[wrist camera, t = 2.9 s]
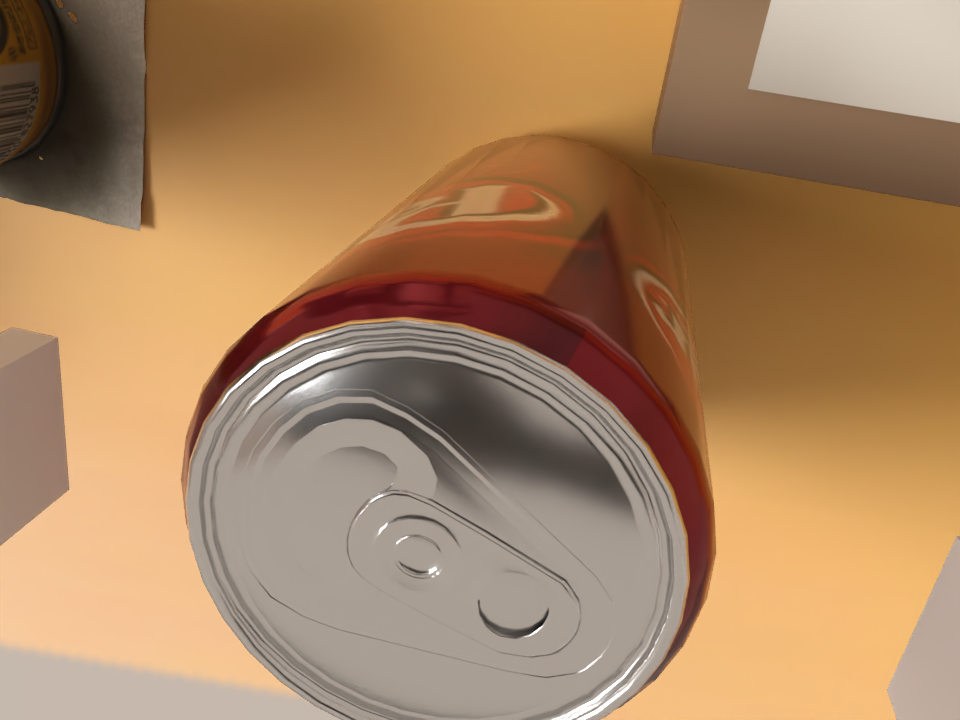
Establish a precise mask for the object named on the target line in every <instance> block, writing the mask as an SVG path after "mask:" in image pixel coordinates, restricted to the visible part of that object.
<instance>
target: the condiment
mask: <svg viewBox="0 0 960 720" xmlns="http://www.w3.org/2000/svg"><path fill="white" fill-rule="evenodd" d="M61 1H62V3H63V8H59V6H58V5H57V3H56V0H0V197H3V198H9V199H12V200H15V201H17V202H21V203H24V204H30V205H36V206H40V207H45V208H49V209H52V210H55V211H62V212H67V213H71V214H74V215H79V216H83V217H87V218H90V219H93V220H97V221H100V222H103V223H106V224H111V225H117V226H121V227H126V228H130V229H134V230H138V231H140V224H141V199H142V195H143V162H144V158H143V141H144V126H145V122H144V113H145V103H144V80H145V73H146V66H147V64H146V60H145V50H144V15H145V0H61ZM69 11H72V12H73V13H74V14H75V15H76V17H77V21H78V23H77V24H76V23H75V22H74V21H73V20H72V19H71V18H70V17H69V15H68V12H69ZM39 156H42V158H43V160H40V159H39Z"/></svg>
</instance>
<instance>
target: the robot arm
mask: <svg viewBox="0 0 960 720" xmlns="http://www.w3.org/2000/svg"><path fill="white" fill-rule="evenodd" d="M68 490H69V480H68V466H67V453H66V439H65V426H64V413H63V399H62V386H61V373H60V359H59V346H58V337H54V336H50V335H45V334H40V333H36V332H31V331H27V330H22V329H18V328H13V327H12V328H10V329H8V330H6V331H4V332H2V333H0V546H1V545H2V544H3V543H4V542H5V541H7V540H8V539H9V538H10V537H12V536H13V535H14V534H15V533H16V532H18V531H19V530H20V529H21V528H23V527H24V526H25V525H26V524H28V523H29V522H30V521H31V520H32V519H34V518H35V517H36V516H37V515H39V514H40V513H41V512H42V511H43V510H45V509H46V508H47V507H48V506H50V505H51V504H52V503H53V502H54V501H56V500H57V499H58V498H59V497H61V496H62V495H63V494H64V493H65V492H67V491H68ZM887 692H888V695H889V698H890V701H891V704H892V707H893V710H894V713H895V716H896V719H897V720H960V537H959V536H956V539H955V541H954V543H953V545H952V547H951V550H950V552H949V554H948V556H947V558H946V561H945V563H944V565H943V567H942V569H941V572H940V574H939V576H938V578H937V580H936V583H935V585H934V587H933V589H932V591H931V594H930V596H929V598H928V600H927V603H926V605H925V607H924V609H923V611H922V614H921V616H920V618H919V620H918V622H917V625H916V627H915V629H914V631H913V633H912V636H911V638H910V640H909V642H908V644H907V647H906V649H905V651H904V653H903V655H902V658H901V660H900V662H899V664H898V667H897V669H896V671H895V673H894V675H893V678H892V680H891V682H890V684H889V686H888V689H887Z"/></svg>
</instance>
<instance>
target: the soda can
mask: <svg viewBox="0 0 960 720" xmlns="http://www.w3.org/2000/svg"><path fill="white" fill-rule="evenodd" d="M181 482H182V491H183V500H184V509H185V518H186V524H187V527H188V530H189V539H190V542H191V545H192V549H193V552H194V555H195V558H196V561H197V564H198V567H199V570H200V574H201V577H202V580H203V582H204V584H205V586H206V588H207V590H208V592H209V594H210V595H211V597H212V599H213V601H214V603H215V605H216V607H217V608H218V610H219V612H220V614H221V616H222V618H223V619H224V620H225V622H226V623H227V624H228V626H229V627H230V628H231V629H232V631H233V632H234V633H235V635H236V636H237V637H238V638H239V640H240V641H241V642H242V644H243V645H244V646H245V648H246V649H247V650H248V651H249V652H250V653H251V654H252V655H253V656H254V657H255V658H256V659H257V660H258V661H259V662H260V663H261V664H262V665H263V666H264V667H265V668H267V669H268V670H269V671H270V672H271V673H272V674H273V675H274V676H275V677H276V678H277V679H278V680H279V681H280V682H282V683H283V684H285V685H286V686H287V687H289V688H290V689H292V690H293V691H295V692H296V693H297V694H299V695H300V696H302V697H303V698H304V699H306V700H307V701H309V702H310V703H312V704H313V705H314V706H316V707H318V708H320V709H322V710H324V711H326V712H328V713H330V714H331V715H333V716H335V717H337V718H339V719H341V720H600V719H602V718H604V717H606V716H607V715H609V714H610V713H611V712H613V711H614V710H615V709H617V708H619V707H621V706H623V705H624V704H625V703H627V702H628V701H629V700H630V699H632V698H633V697H634V696H636V695H637V694H638V693H639V692H641V691H642V690H643V689H644V688H646V687H647V686H648V685H650V684H651V683H652V682H653V681H655V680H656V679H657V677H658V676H659V675H660V674H661V673H662V671H663V670H664V669H665V668H666V666H667V665H668V664H669V663H670V662H671V660H672V659H673V658H674V657H675V655H676V654H677V653H678V652H679V650H680V649H681V648H682V647H683V645H684V644H685V642H686V640H687V638H688V637H689V634H690V632H691V630H692V628H693V626H694V624H695V622H696V620H697V618H698V616H699V614H700V611H701V609H702V607H703V605H704V603H705V601H706V599H707V595H708V590H709V586H710V581H711V576H712V571H713V566H714V561H715V556H716V538H715V515H714V500H713V491H712V483H711V474H710V465H709V457H708V448H707V439H706V431H705V422H704V413H703V405H702V396H701V387H700V379H699V370H698V361H697V353H696V344H695V335H694V327H693V318H692V309H691V301H690V292H689V283H688V275H687V266H686V258H685V255H684V251H683V247H682V243H681V240H680V236H679V232H678V230H677V228H676V226H675V224H674V222H673V220H672V218H671V216H670V214H669V212H668V210H667V208H666V206H665V204H664V203H663V202H662V200H661V199H660V198H659V197H658V195H657V194H656V193H655V192H654V191H653V189H652V188H651V187H650V186H649V184H648V183H647V182H646V181H645V180H644V179H643V178H642V177H641V176H639V175H638V174H637V173H636V172H634V171H633V170H632V169H631V168H630V167H628V166H627V165H626V164H625V163H624V162H622V161H621V160H619V159H617V158H615V157H613V156H612V155H610V154H608V153H606V152H604V151H602V150H600V149H598V148H596V147H595V146H591V145H588V144H585V143H581V142H578V141H574V140H571V139H568V138H563V137H551V136H539V135H530V136H521V137H513V138H505V139H501V140H498V141H495V142H492V143H489V144H486V145H483V146H480V147H477V148H474V149H473V150H471V151H469V152H468V153H466V154H464V155H462V156H461V157H459V158H457V159H456V160H454V161H452V162H450V163H449V164H448V165H447V166H445V167H444V168H443V169H442V170H441V171H439V172H438V173H437V174H436V175H434V176H433V177H432V178H431V179H430V180H428V181H427V182H426V183H425V184H424V185H422V186H421V187H420V188H419V189H418V190H416V191H415V192H414V193H413V194H411V195H410V196H409V197H408V198H407V199H405V200H404V201H403V202H402V203H401V204H399V205H398V206H397V207H396V208H394V209H393V210H392V211H391V212H390V213H388V214H387V215H386V216H385V217H384V218H382V219H381V220H380V221H379V222H378V223H376V224H375V225H374V226H373V227H371V228H370V229H369V230H368V231H367V232H365V233H364V234H363V235H362V236H361V237H359V238H358V239H357V240H356V241H355V242H353V243H352V244H351V245H350V246H348V247H347V248H346V249H345V250H344V251H342V252H341V253H340V254H339V255H338V256H336V257H335V258H334V259H333V260H332V261H330V262H329V263H328V264H327V265H325V266H324V267H323V268H322V269H321V270H319V271H318V272H317V273H316V274H315V275H313V276H312V277H311V278H310V279H308V280H307V281H306V282H305V283H304V284H302V285H301V286H300V287H299V288H298V289H296V290H295V291H294V292H293V293H292V294H290V295H289V296H288V297H287V298H285V299H284V300H283V301H282V302H281V303H279V304H278V305H277V306H276V307H275V308H273V309H272V310H271V311H270V312H269V313H267V314H266V315H265V316H264V317H262V318H261V319H260V320H259V321H258V322H257V323H256V324H255V325H254V326H253V327H252V328H251V329H249V330H248V331H247V332H246V333H245V334H244V335H243V336H242V337H241V338H240V339H239V340H237V341H236V342H235V343H234V344H233V345H232V346H231V347H230V348H229V349H228V350H227V351H226V353H225V354H224V356H223V357H222V359H221V360H220V362H219V363H218V365H217V367H216V368H215V370H214V371H213V373H212V374H211V376H210V377H209V379H208V380H207V382H206V383H205V385H204V386H203V388H202V391H201V394H200V397H199V399H198V402H197V405H196V408H195V411H194V413H193V416H192V419H191V422H190V425H189V427H188V431H187V435H186V441H185V450H184V459H183V468H182V478H181Z"/></svg>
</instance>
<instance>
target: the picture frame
mask: <svg viewBox="0 0 960 720" xmlns="http://www.w3.org/2000/svg"><path fill="white" fill-rule="evenodd" d="M652 154H658V155H664V156H670V157H676V158H681V159H687V160H693V161H699V162H705V163H710V164H716V165H722V166H728V167H733V168H739V169H745V170H751V171H757V172H762V173H768V174H774V175H780V176H786V177H791V178H797V179H803V180H809V181H814V182H820V183H826V184H832V185H838V186H843V187H849V188H855V189H861V190H867V191H872V192H878V193H884V194H890V195H895V196H901V197H907V198H913V199H919V200H924V201H930V202H936V203H942V204H948V205H953V206H959V207H960V0H681V4H680V9H679V13H678V18H677V22H676V27H675V32H674V36H673V41H672V45H671V50H670V54H669V59H668V64H667V68H666V73H665V77H664V82H663V86H662V91H661V96H660V100H659V105H658V109H657V114H656V118H655V123H654V127H653V141H652Z"/></svg>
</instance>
